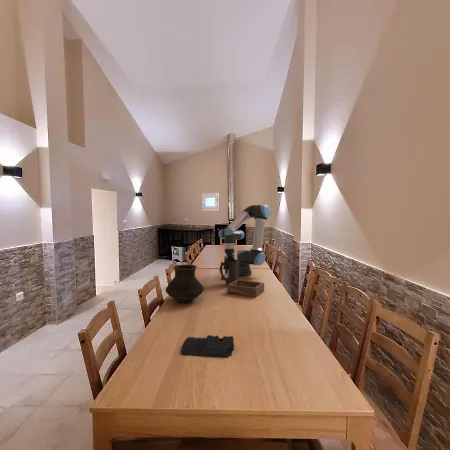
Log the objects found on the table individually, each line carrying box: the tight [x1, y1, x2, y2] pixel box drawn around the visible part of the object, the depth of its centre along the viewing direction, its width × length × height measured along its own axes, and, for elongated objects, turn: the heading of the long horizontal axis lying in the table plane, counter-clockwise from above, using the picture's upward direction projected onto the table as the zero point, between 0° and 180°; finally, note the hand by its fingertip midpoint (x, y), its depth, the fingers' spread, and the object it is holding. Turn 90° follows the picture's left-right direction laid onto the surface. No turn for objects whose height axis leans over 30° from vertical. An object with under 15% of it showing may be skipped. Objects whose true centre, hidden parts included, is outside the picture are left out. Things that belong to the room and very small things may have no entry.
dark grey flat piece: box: [180, 334, 235, 359], centre depth 121 cm, size 15×22×5 cm
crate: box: [226, 279, 265, 298], centre depth 205 cm, size 17×21×6 cm
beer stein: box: [219, 259, 239, 287], centre depth 225 cm, size 15×11×20 cm
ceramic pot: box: [165, 264, 205, 303], centre depth 185 cm, size 24×24×22 cm
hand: (229, 276), depth 226 cm, fingers closed on beer stein, 9 cm apart
